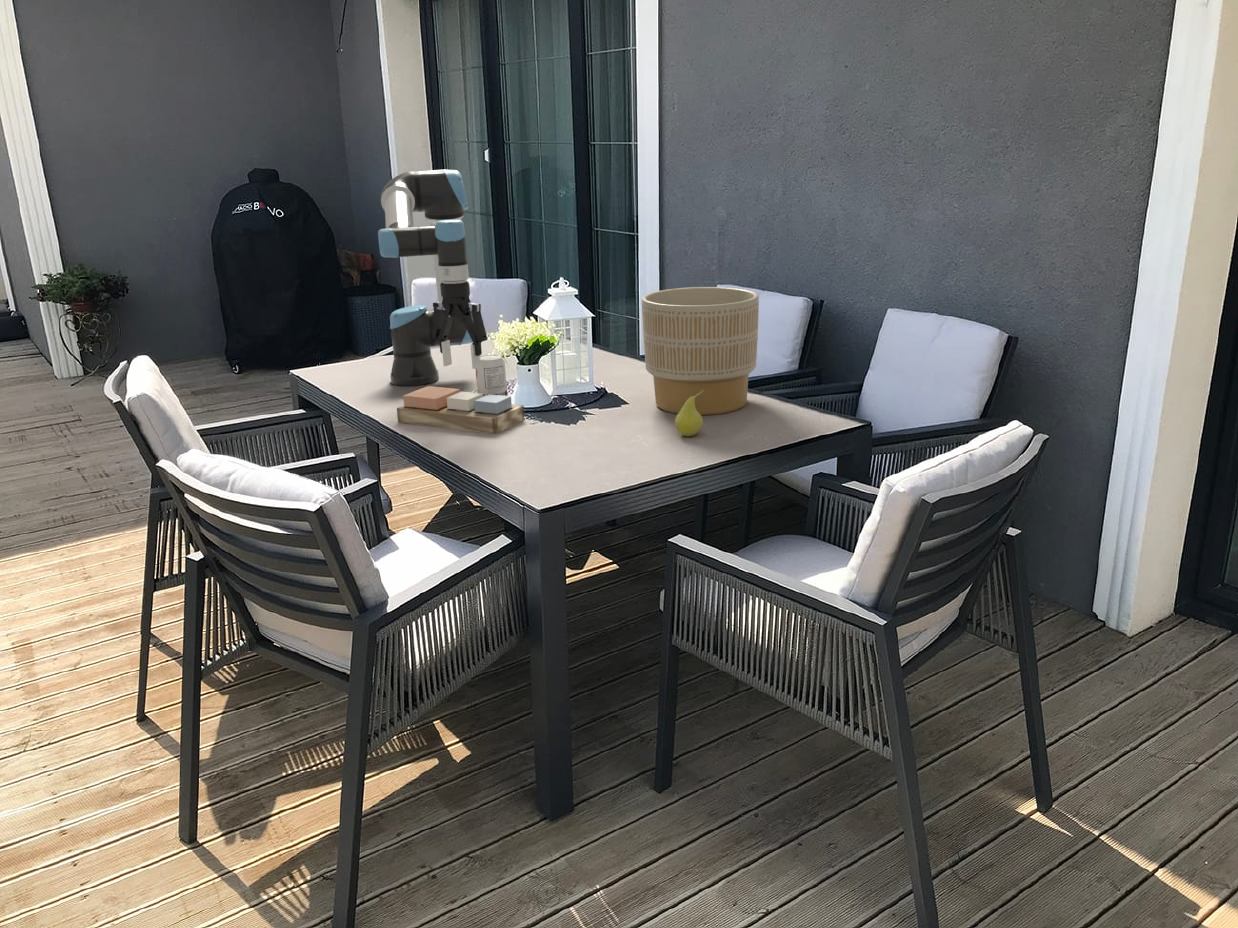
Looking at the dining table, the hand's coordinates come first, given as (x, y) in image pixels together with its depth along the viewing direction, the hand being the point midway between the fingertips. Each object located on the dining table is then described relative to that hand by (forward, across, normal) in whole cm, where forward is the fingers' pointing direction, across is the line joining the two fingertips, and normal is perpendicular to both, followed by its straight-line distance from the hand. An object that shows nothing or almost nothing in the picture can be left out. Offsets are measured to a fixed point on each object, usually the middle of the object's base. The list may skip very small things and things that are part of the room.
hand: (462, 366), depth 266 cm
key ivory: (+13, 0, 0) cm, 13 cm away
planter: (+16, +53, +38) cm, 67 cm away
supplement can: (+16, 0, +13) cm, 20 cm away
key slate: (+13, +9, 0) cm, 15 cm away
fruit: (+16, +62, +9) cm, 65 cm away
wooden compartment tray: (+15, -2, 0) cm, 16 cm away
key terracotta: (+13, -11, 0) cm, 17 cm away
